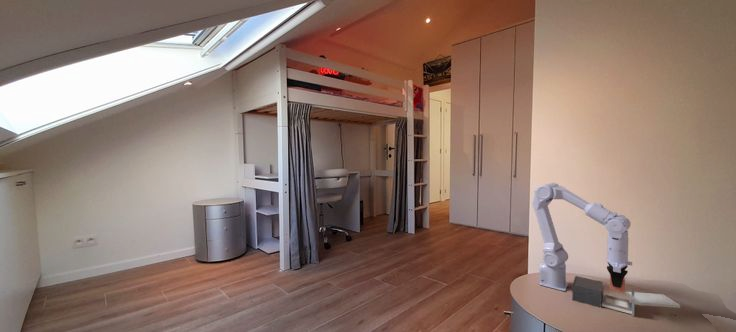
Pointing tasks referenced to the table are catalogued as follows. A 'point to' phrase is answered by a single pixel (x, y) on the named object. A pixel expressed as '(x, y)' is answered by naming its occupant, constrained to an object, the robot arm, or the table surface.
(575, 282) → the player housing
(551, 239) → the robot arm
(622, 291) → the block
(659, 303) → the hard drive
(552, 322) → the table surface
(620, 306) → the tray
